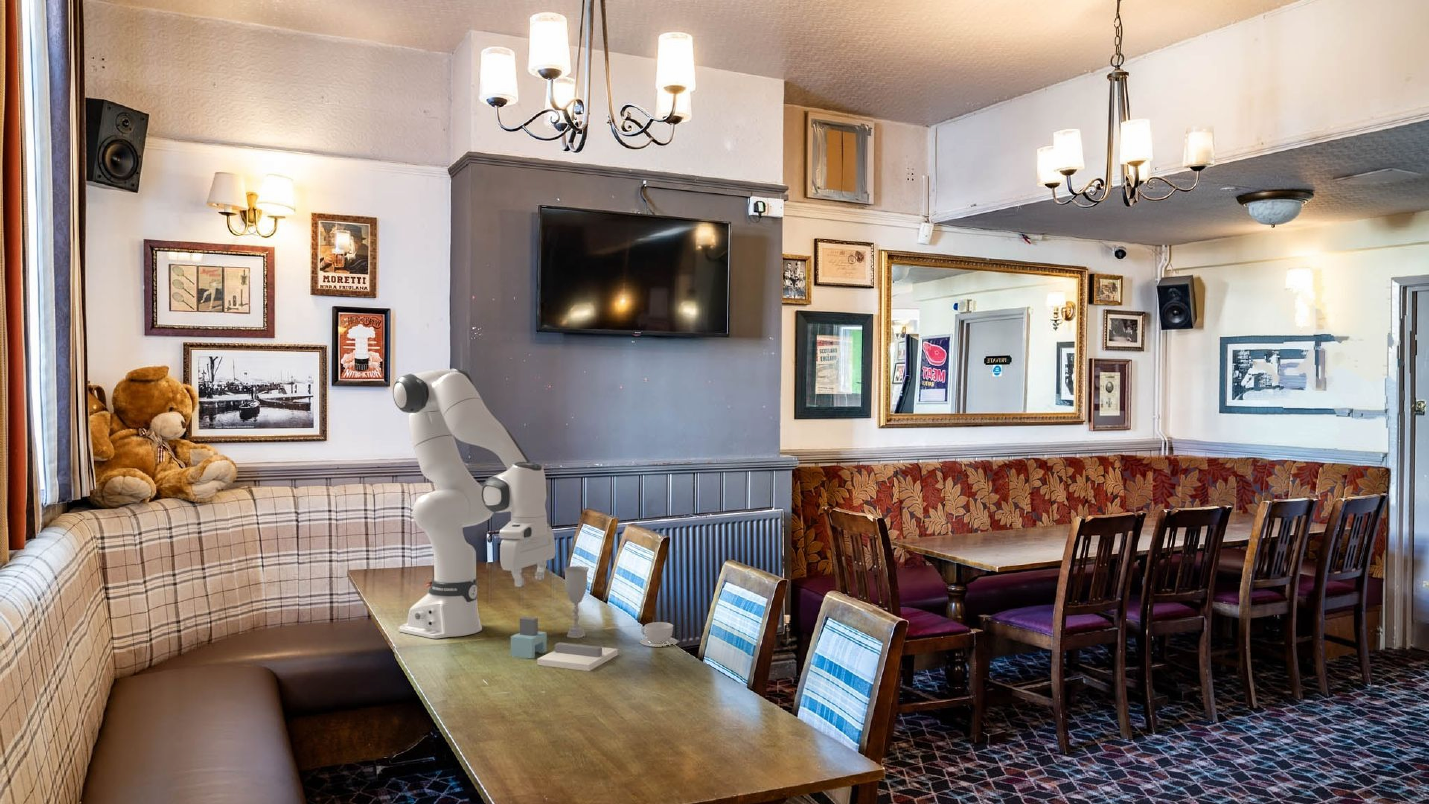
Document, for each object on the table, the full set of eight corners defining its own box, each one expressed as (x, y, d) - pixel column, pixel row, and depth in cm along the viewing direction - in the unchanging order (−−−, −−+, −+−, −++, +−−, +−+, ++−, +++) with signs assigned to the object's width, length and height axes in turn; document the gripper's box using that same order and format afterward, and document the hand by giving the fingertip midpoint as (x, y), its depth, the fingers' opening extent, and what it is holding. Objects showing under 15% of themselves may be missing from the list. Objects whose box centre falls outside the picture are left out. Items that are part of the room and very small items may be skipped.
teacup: (684, 640, 258) (684, 623, 258) (667, 650, 249) (667, 631, 249) (650, 636, 262) (650, 619, 262) (632, 645, 253) (632, 627, 253)
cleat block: (510, 656, 242) (510, 620, 242) (525, 649, 248) (526, 614, 248) (531, 659, 239) (531, 622, 239) (546, 651, 246) (546, 616, 246)
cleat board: (537, 665, 234) (537, 650, 234) (568, 649, 248) (568, 635, 248) (588, 671, 229) (588, 656, 229) (617, 655, 243) (617, 641, 243)
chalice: (583, 639, 258) (583, 571, 258) (559, 638, 259) (559, 570, 259) (592, 632, 265) (592, 566, 265) (568, 631, 267) (568, 565, 266)
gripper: (539, 521, 254) (540, 574, 254) (495, 532, 235) (495, 589, 235) (561, 522, 252) (561, 576, 252) (517, 533, 233) (518, 591, 233)
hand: (529, 582), depth 243 cm, fingers open, 8 cm apart
